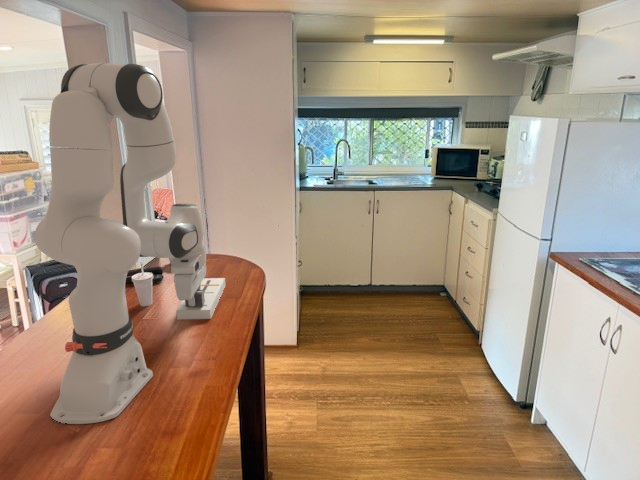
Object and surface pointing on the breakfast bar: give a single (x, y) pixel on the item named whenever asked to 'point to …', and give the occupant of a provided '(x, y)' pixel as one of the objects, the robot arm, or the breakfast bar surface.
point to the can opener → (155, 271)
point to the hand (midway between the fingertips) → (195, 300)
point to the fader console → (211, 294)
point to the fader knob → (197, 298)
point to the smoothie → (143, 286)
